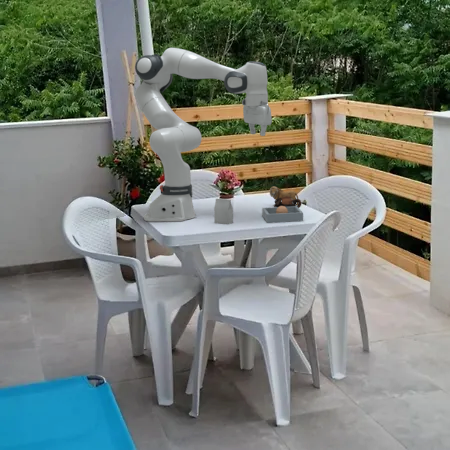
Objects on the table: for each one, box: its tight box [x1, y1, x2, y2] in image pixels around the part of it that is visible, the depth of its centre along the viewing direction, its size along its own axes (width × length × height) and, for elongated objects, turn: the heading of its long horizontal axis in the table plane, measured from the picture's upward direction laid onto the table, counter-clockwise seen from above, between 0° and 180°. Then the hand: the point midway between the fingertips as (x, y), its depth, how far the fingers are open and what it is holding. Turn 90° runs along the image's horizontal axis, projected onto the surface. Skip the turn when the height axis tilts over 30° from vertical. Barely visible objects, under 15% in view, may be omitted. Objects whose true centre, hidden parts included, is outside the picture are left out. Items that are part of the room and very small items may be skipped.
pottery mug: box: [273, 196, 303, 209], centre depth 340 cm, size 12×10×8 cm
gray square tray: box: [261, 205, 304, 224], centre depth 328 cm, size 15×15×4 cm
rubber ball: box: [276, 206, 288, 214], centre depth 328 cm, size 5×5×5 cm
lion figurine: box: [269, 186, 299, 206], centre depth 357 cm, size 15×5×9 cm, turn 98°
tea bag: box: [213, 198, 234, 225], centre depth 322 cm, size 4×7×10 cm, turn 60°
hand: (257, 134), depth 325 cm, fingers open, 8 cm apart
